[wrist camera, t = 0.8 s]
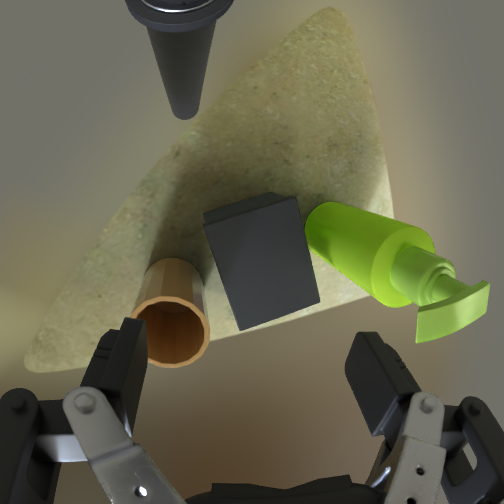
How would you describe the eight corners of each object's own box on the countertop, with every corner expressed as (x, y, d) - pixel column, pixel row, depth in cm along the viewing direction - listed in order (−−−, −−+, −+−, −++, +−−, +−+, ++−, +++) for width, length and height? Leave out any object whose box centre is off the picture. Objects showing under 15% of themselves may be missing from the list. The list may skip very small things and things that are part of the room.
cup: (134, 268, 30) (114, 310, 21) (191, 249, 31) (192, 284, 22) (156, 321, 32) (148, 375, 23) (211, 303, 32) (220, 354, 23)
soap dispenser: (290, 209, 31) (426, 276, 12) (352, 197, 32) (510, 243, 13) (298, 265, 33) (417, 378, 14) (357, 250, 34) (497, 333, 15)
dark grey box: (200, 212, 30) (203, 226, 23) (272, 189, 31) (296, 196, 24) (229, 298, 33) (239, 331, 26) (295, 275, 33) (320, 302, 27)
